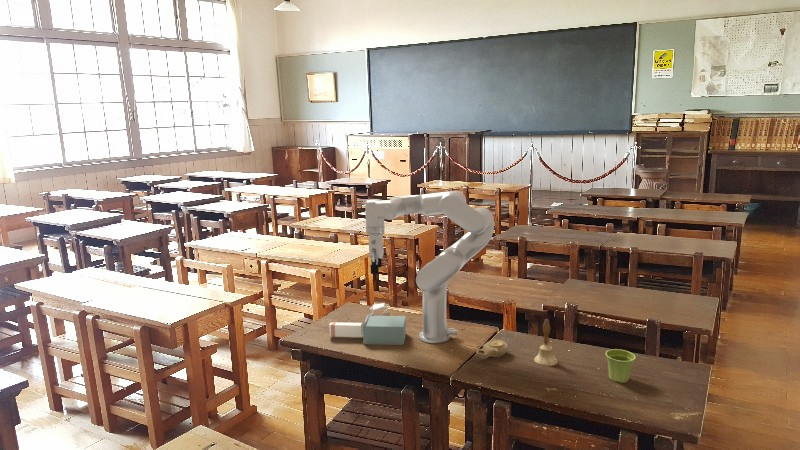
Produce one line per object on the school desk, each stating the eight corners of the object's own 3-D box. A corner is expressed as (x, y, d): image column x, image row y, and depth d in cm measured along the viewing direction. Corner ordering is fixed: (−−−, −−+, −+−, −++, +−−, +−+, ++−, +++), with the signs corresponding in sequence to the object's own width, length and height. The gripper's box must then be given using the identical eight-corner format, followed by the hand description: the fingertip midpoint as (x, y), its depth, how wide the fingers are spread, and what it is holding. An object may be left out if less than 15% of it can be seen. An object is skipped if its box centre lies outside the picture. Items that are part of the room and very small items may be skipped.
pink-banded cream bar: (362, 334, 227) (362, 322, 226) (361, 337, 224) (360, 325, 223) (331, 333, 228) (330, 322, 227) (329, 336, 225) (329, 324, 224)
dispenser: (405, 333, 230) (405, 314, 228) (403, 344, 218) (403, 325, 216) (367, 332, 231) (367, 314, 230) (363, 344, 219) (362, 324, 218)
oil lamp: (474, 362, 202) (474, 349, 201) (482, 347, 215) (482, 335, 214) (503, 366, 198) (503, 353, 197) (510, 351, 211) (510, 338, 210)
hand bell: (544, 367, 196) (546, 325, 193) (529, 359, 203) (530, 317, 200) (562, 362, 200) (564, 321, 197) (546, 354, 207) (548, 314, 204)
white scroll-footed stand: (371, 311, 257) (371, 301, 256) (389, 312, 254) (389, 302, 254) (363, 320, 245) (363, 310, 244) (381, 322, 243) (381, 311, 242)
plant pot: (640, 383, 184) (641, 358, 182) (615, 387, 181) (617, 362, 180) (621, 371, 193) (623, 347, 191) (598, 374, 190) (599, 351, 189)
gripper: (381, 234, 216) (382, 276, 219) (386, 225, 233) (387, 265, 236) (362, 234, 216) (364, 276, 220) (369, 225, 233) (370, 265, 237)
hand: (376, 270), depth 228 cm, fingers open, 9 cm apart
